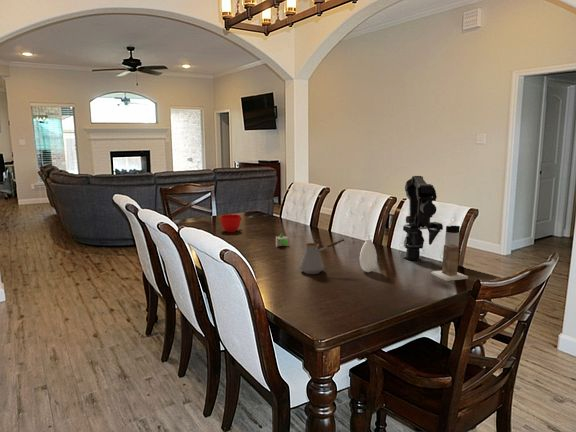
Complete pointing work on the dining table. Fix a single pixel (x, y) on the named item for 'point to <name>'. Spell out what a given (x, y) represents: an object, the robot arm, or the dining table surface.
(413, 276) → the dining table surface
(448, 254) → the walnut block
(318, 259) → the coffee pot
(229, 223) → the ceramic cup
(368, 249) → the white teardrop shape
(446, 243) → the travel mug
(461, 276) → the felt coaster
